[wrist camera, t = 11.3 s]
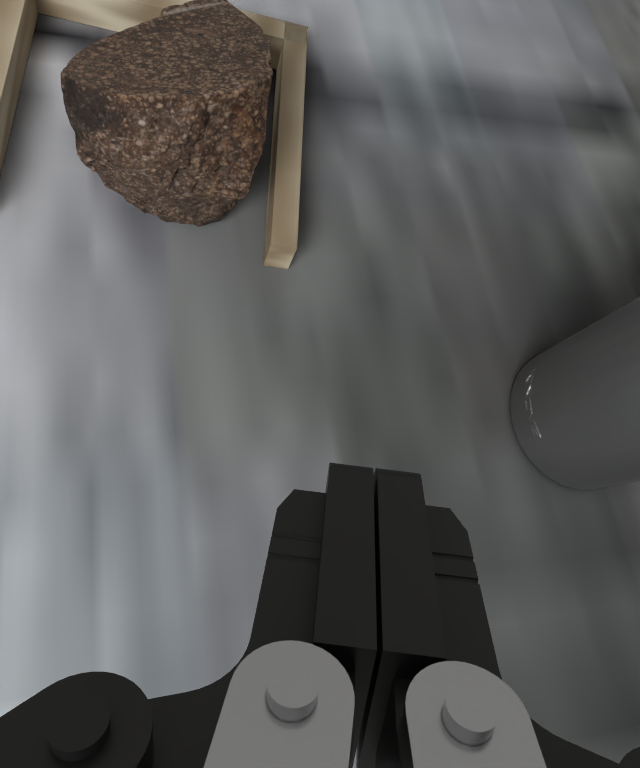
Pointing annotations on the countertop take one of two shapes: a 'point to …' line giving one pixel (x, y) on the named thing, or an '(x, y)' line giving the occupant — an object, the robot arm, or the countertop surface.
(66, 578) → the countertop surface
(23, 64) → the corral
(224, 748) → the robot arm
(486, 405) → the countertop surface
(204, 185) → the rock
